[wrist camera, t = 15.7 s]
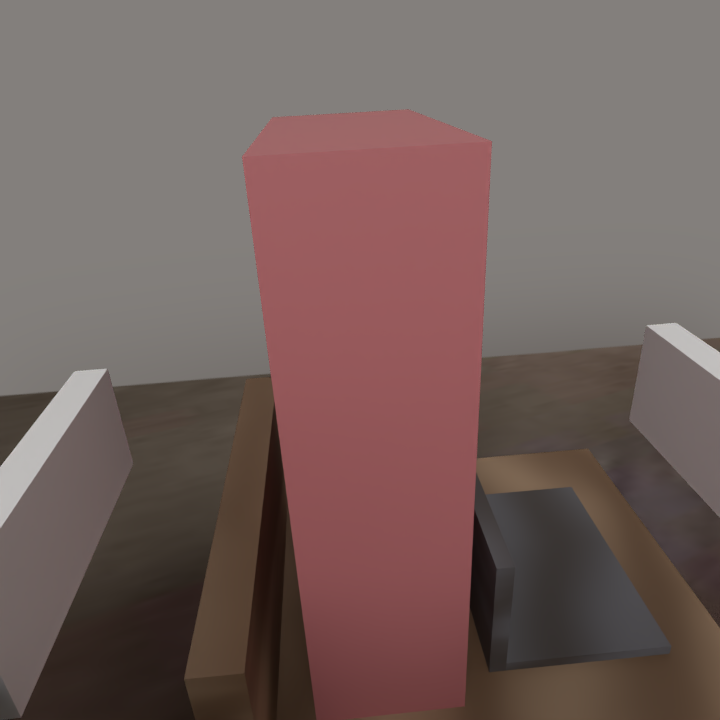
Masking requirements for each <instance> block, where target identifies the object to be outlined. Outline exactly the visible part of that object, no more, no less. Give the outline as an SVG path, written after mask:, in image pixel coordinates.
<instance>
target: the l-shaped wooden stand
mask: <svg viewBox="0 0 720 720" xmlns="http://www.w3.org/2000/svg"><path fill="white" fill-rule="evenodd" d="M184 682H185V685H186V689H187V692H188V696H189V699H190V703H191V707H192V710H193V714H194V717H195V720H316V713H315V705H314V697H313V690H312V682H311V675H310V667H309V659H308V652H307V644H306V637H305V629H304V622H303V614H302V606H301V599H300V591H299V584H298V576H297V569H296V561H295V553H294V546H293V538H292V531H291V523H290V515H289V508H288V500H287V493H286V485H285V478H284V470H283V462H282V455H281V447H280V440H279V432H278V425H277V417H276V409H275V402H274V394H273V387H272V379H271V377H265V378H252V379H246V383H245V388H244V393H243V398H242V402H241V407H240V412H239V417H238V422H237V426H236V431H235V436H234V441H233V446H232V451H231V455H230V460H229V465H228V470H227V475H226V479H225V484H224V489H223V494H222V499H221V503H220V508H219V513H218V518H217V523H216V527H215V532H214V537H213V542H212V547H211V551H210V556H209V561H208V566H207V571H206V576H205V580H204V585H203V590H202V595H201V600H200V604H199V609H198V614H197V619H196V624H195V628H194V633H193V638H192V643H191V648H190V652H189V657H188V662H187V667H186V672H185V676H184ZM345 720H720V628H719V626H718V625H717V624H716V622H715V621H714V620H713V618H712V617H711V615H710V614H709V613H708V611H707V610H706V609H705V607H704V606H703V605H702V603H701V602H700V600H699V599H698V598H697V596H696V595H695V594H694V592H693V591H692V590H691V588H690V587H689V586H688V584H687V583H686V581H685V580H684V579H683V577H682V576H681V575H680V573H679V572H678V571H677V569H676V568H675V566H674V565H673V564H672V562H671V561H670V560H669V558H668V557H667V556H666V554H665V553H664V551H663V550H662V549H661V547H660V546H659V545H658V543H657V542H656V541H655V539H654V538H653V537H652V535H651V534H650V532H649V531H648V530H647V528H646V527H645V526H644V524H643V523H642V522H641V520H640V519H639V517H638V516H637V515H636V513H635V512H634V511H633V509H632V508H631V507H630V505H629V504H628V502H627V501H626V500H625V498H624V497H623V496H622V494H621V493H620V492H619V490H618V489H617V488H616V486H615V485H614V483H613V482H612V481H611V479H610V478H609V477H608V475H607V474H606V473H605V471H604V470H603V468H602V467H601V466H600V464H599V463H598V462H597V460H596V459H595V458H594V456H593V455H592V453H591V452H590V451H589V449H579V450H567V451H556V452H544V453H533V454H521V455H509V456H498V457H486V458H477V461H476V482H475V503H474V524H473V545H472V566H471V587H470V608H469V629H468V650H467V671H466V692H465V706H463V707H454V708H445V709H436V710H427V711H418V712H409V713H400V714H390V715H381V716H372V717H363V718H354V719H345Z"/></svg>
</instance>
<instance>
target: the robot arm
mask: <svg viewBox="0 0 720 720" xmlns="http://www.w3.org/2000/svg"><path fill="white" fill-rule="evenodd" d="M629 420H630V421H631V422H632V423H633V425H634V426H635V427H636V428H637V429H638V430H639V431H640V432H641V433H642V434H643V435H644V436H645V437H646V439H647V440H648V441H649V442H650V443H651V444H652V445H653V446H654V447H655V448H656V449H657V450H658V451H659V453H660V454H661V455H662V456H663V457H664V458H665V459H666V460H667V461H668V462H669V463H670V464H671V466H672V467H673V468H674V469H675V470H676V471H677V472H678V473H679V474H680V475H681V476H682V477H683V478H684V480H685V481H686V482H687V483H688V484H689V485H690V486H691V487H692V488H693V489H694V490H695V491H696V493H697V494H698V495H699V496H700V497H701V498H702V499H703V500H704V501H705V502H706V503H707V504H708V505H709V507H710V508H711V509H712V510H713V511H714V512H715V513H716V514H717V515H718V516H719V517H720V352H718V351H717V350H715V349H714V348H712V347H711V346H709V345H708V344H706V343H705V342H703V341H702V340H700V339H699V338H698V337H696V336H694V335H693V334H691V333H690V332H689V331H687V330H686V329H684V328H683V327H681V326H680V325H678V324H677V323H670V324H658V325H646V330H645V335H644V341H643V347H642V352H641V358H640V363H639V369H638V374H637V380H636V385H635V391H634V396H633V402H632V407H631V413H630V419H629ZM132 466H133V461H132V457H131V453H130V449H129V446H128V442H127V438H126V435H125V431H124V427H123V424H122V420H121V416H120V413H119V409H118V405H117V402H116V398H115V394H114V390H113V387H112V383H111V379H110V376H109V372H108V369H97V370H85V371H74V373H73V374H72V375H71V376H70V378H69V379H68V380H67V382H66V383H65V384H64V386H63V387H62V388H61V389H60V391H59V392H58V393H57V394H56V396H55V397H54V398H53V400H52V401H51V402H50V404H49V405H48V406H47V407H46V409H45V410H44V411H43V413H42V414H41V415H40V416H39V418H38V419H37V420H36V422H35V423H34V424H33V425H32V427H31V428H30V429H29V431H28V432H27V433H26V434H25V436H24V437H23V438H22V440H21V441H20V442H19V444H18V445H17V446H16V447H15V449H14V450H13V451H12V453H11V454H10V455H9V456H8V458H7V459H6V460H5V462H4V463H3V464H2V465H1V467H0V720H3V719H12V718H21V717H22V714H23V712H24V710H25V708H26V705H27V703H28V701H29V699H30V696H31V694H32V692H33V690H34V687H35V685H36V683H37V681H38V678H39V676H40V674H41V671H42V669H43V667H44V665H45V662H46V660H47V658H48V656H49V653H50V651H51V649H52V647H53V644H54V642H55V640H56V638H57V635H58V633H59V631H60V629H61V626H62V624H63V622H64V619H65V617H66V615H67V613H68V610H69V608H70V606H71V604H72V601H73V599H74V597H75V595H76V592H77V590H78V588H79V586H80V583H81V581H82V579H83V577H84V574H85V572H86V570H87V567H88V565H89V563H90V561H91V558H92V556H93V554H94V552H95V549H96V547H97V545H98V543H99V540H100V538H101V536H102V534H103V531H104V529H105V527H106V525H107V522H108V520H109V518H110V515H111V513H112V511H113V509H114V506H115V504H116V502H117V500H118V497H119V495H120V493H121V491H122V488H123V486H124V484H125V482H126V479H127V477H128V475H129V472H130V470H131V468H132Z"/></svg>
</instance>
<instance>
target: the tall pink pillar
mask: <svg viewBox="0 0 720 720" xmlns="http://www.w3.org/2000/svg"><path fill="white" fill-rule="evenodd" d="M491 146H492V141H490V140H487V139H484V138H482V137H479V136H477V135H474V134H471V133H469V132H466V131H463V130H461V129H458V128H456V127H453V126H450V125H448V124H445V123H443V122H440V121H437V120H435V119H432V118H429V117H427V116H424V115H422V114H419V113H416V112H414V111H411V110H408V109H407V110H390V111H372V112H355V113H339V114H323V115H305V116H287V117H273V118H272V119H271V120H270V121H269V123H268V124H267V125H266V126H265V128H264V129H263V130H262V132H261V133H260V134H259V136H258V137H257V138H256V140H255V141H254V142H253V143H252V145H251V146H250V147H249V148H248V150H247V151H246V152H245V154H244V155H243V156H242V159H243V166H244V174H245V182H246V189H247V197H248V205H249V212H250V219H251V227H252V235H253V242H254V250H255V258H256V265H257V273H258V280H259V288H260V296H261V303H262V311H263V318H264V326H265V333H266V341H267V349H268V356H269V363H270V371H271V379H272V387H273V394H274V402H275V409H276V417H277V425H278V432H279V440H280V447H281V455H282V462H283V470H284V478H285V485H286V493H287V500H288V508H289V515H290V523H291V531H292V538H293V546H294V553H295V561H296V569H297V576H298V584H299V591H300V599H301V606H302V614H303V622H304V629H305V637H306V644H307V652H308V659H309V667H310V675H311V682H312V690H313V697H314V705H315V713H316V720H345V719H354V718H363V717H372V716H381V715H390V714H400V713H409V712H418V711H427V710H436V709H445V708H454V707H463V706H465V692H466V671H467V650H468V629H469V608H470V587H471V566H472V545H473V524H474V503H475V482H476V461H477V440H478V419H479V399H480V378H481V357H482V335H483V314H484V293H485V273H486V252H487V251H486V250H487V230H488V210H489V189H490V167H491Z"/></svg>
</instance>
